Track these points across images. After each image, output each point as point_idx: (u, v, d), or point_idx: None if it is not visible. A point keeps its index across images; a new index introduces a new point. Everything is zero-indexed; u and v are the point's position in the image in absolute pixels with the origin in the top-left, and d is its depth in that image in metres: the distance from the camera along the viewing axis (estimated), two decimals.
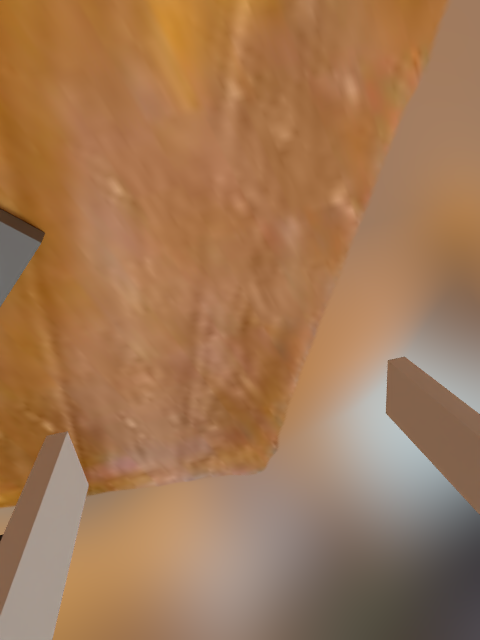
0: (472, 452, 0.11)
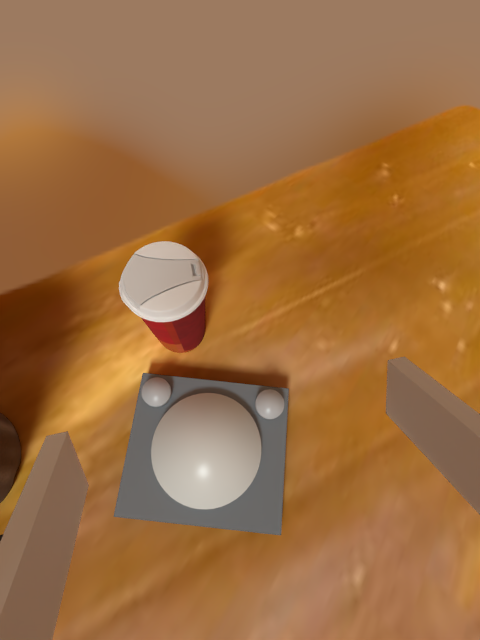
0: (471, 452, 0.11)
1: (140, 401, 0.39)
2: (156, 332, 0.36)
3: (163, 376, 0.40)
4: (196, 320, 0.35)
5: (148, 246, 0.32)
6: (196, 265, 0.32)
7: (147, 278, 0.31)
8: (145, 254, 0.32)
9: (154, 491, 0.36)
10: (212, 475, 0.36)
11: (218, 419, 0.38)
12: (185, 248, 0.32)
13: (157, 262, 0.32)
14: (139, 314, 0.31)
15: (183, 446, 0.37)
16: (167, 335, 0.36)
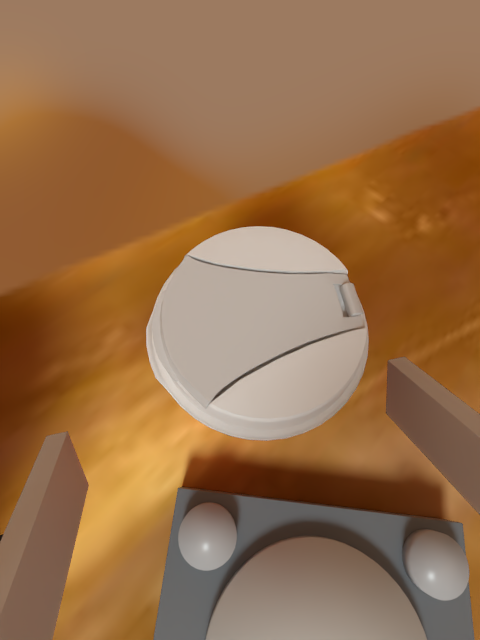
0: (472, 452, 0.11)
1: (174, 552, 0.19)
2: None
3: (218, 495, 0.21)
4: None
5: (222, 237, 0.13)
6: (349, 288, 0.12)
7: (226, 322, 0.12)
8: (215, 257, 0.13)
9: None
10: None
11: (338, 601, 0.18)
12: (314, 244, 0.13)
13: (248, 279, 0.12)
14: (202, 418, 0.12)
15: None
16: None
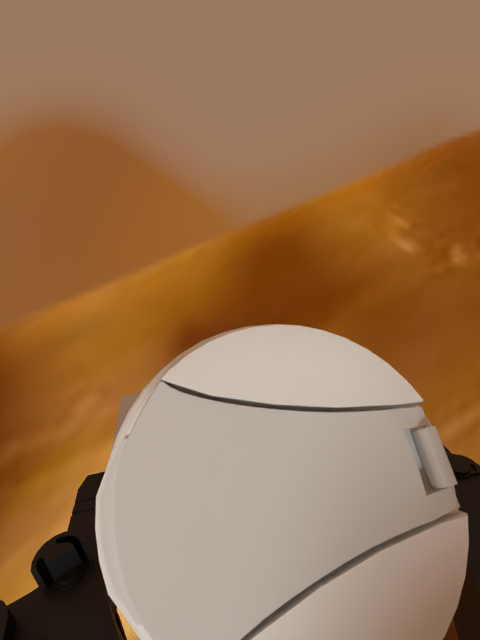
0: None
1: None
2: None
3: None
4: None
5: (218, 347, 0.08)
6: (430, 438, 0.07)
7: (227, 512, 0.07)
8: (208, 384, 0.08)
9: None
10: None
11: None
12: (367, 356, 0.08)
13: (262, 423, 0.07)
14: None
15: None
16: None
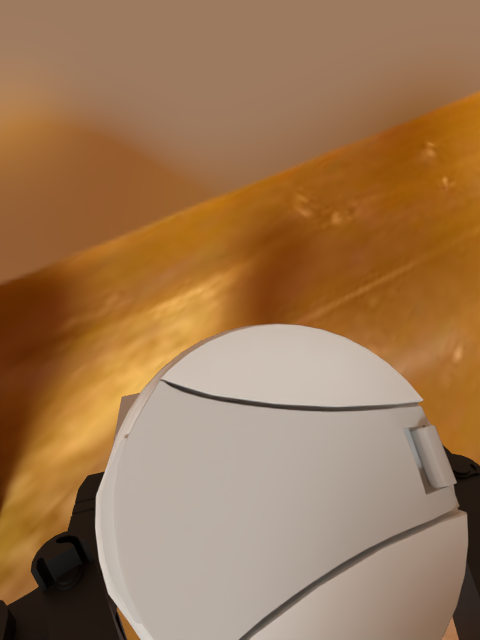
0: None
1: None
2: None
3: None
4: None
5: (218, 346, 0.08)
6: (430, 437, 0.07)
7: (226, 512, 0.07)
8: (208, 383, 0.08)
9: None
10: None
11: None
12: (367, 355, 0.08)
13: (262, 423, 0.07)
14: None
15: None
16: None
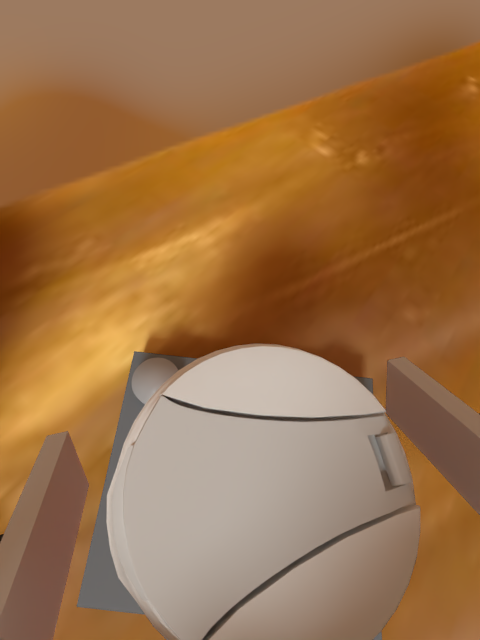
0: (471, 452, 0.11)
1: (129, 397, 0.23)
2: None
3: (168, 357, 0.25)
4: None
5: (211, 366, 0.09)
6: (390, 443, 0.09)
7: (218, 507, 0.08)
8: (202, 398, 0.09)
9: None
10: None
11: None
12: (339, 372, 0.09)
13: (248, 431, 0.09)
14: None
15: None
16: None
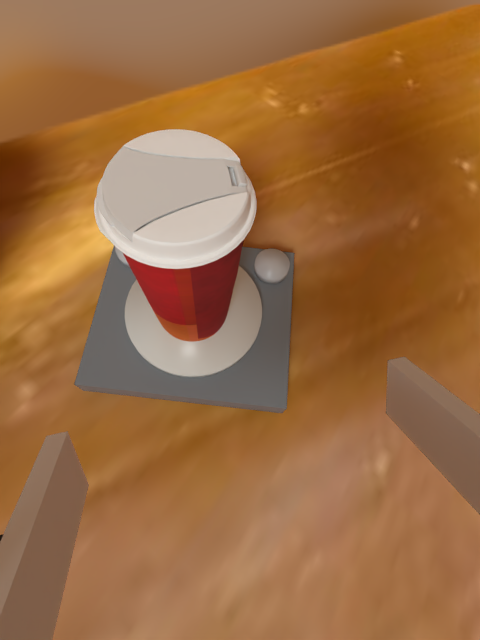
0: (472, 452, 0.11)
1: (113, 261, 0.32)
2: (158, 300, 0.22)
3: None
4: (227, 279, 0.21)
5: (149, 136, 0.18)
6: (237, 168, 0.17)
7: (148, 187, 0.17)
8: (144, 148, 0.18)
9: (127, 358, 0.29)
10: None
11: None
12: (216, 141, 0.18)
13: (166, 161, 0.17)
14: (131, 253, 0.16)
15: None
16: (177, 305, 0.21)
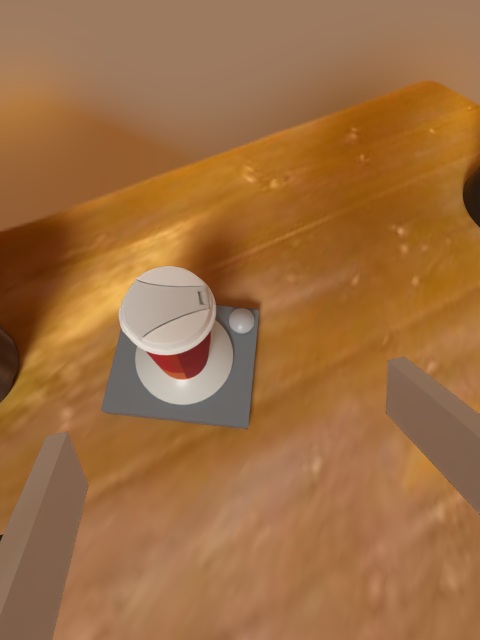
0: (472, 452, 0.11)
1: None
2: (158, 362, 0.34)
3: None
4: (201, 349, 0.33)
5: (151, 271, 0.30)
6: (203, 293, 0.29)
7: (150, 307, 0.29)
8: (148, 280, 0.29)
9: (137, 391, 0.41)
10: None
11: None
12: (191, 274, 0.30)
13: (161, 289, 0.29)
14: (141, 346, 0.28)
15: None
16: (170, 365, 0.33)
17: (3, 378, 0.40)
